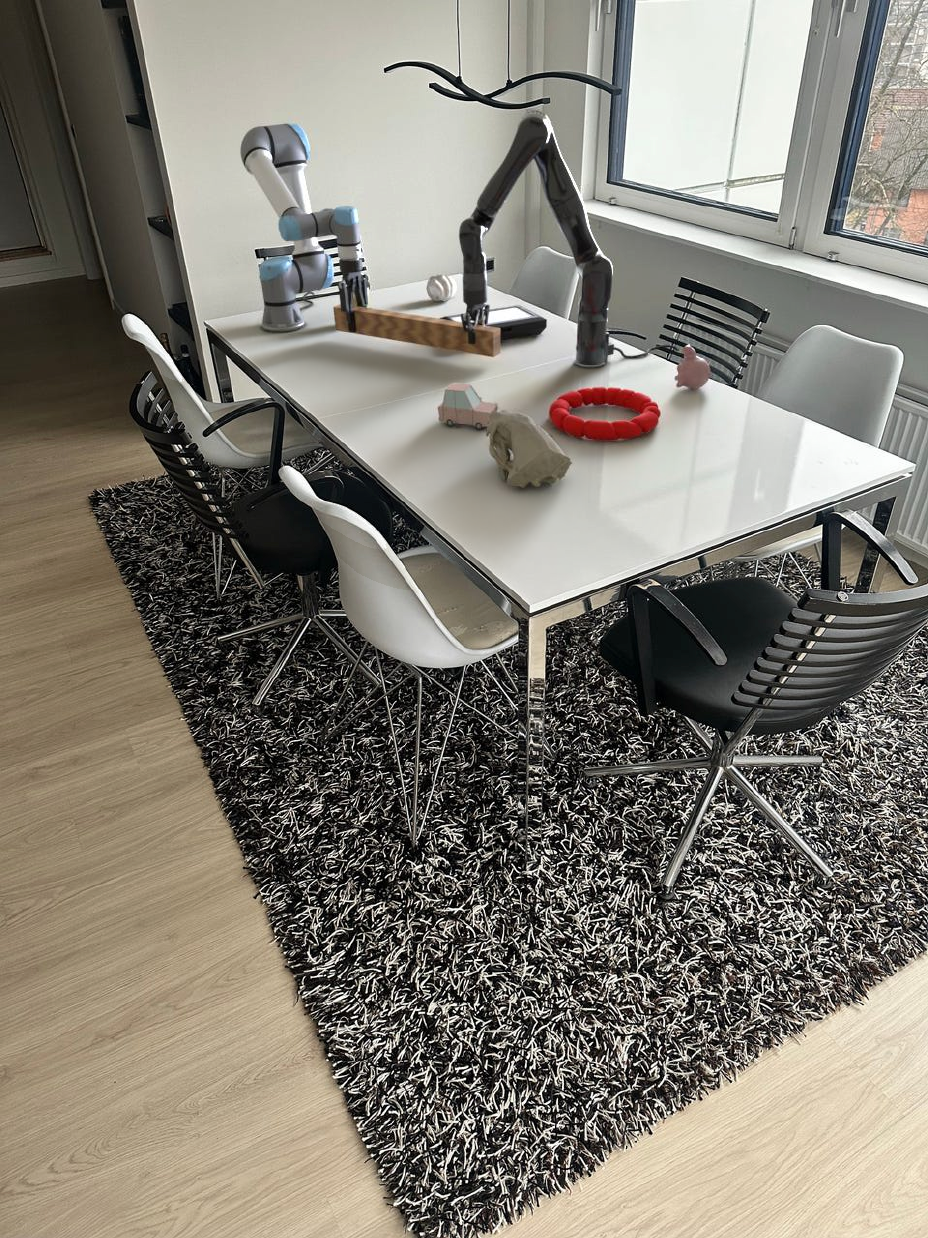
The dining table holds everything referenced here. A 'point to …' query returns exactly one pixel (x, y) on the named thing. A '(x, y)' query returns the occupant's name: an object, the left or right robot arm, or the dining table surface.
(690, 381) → the figurine
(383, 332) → the bar
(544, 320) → the electronic device
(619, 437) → the decorative ring
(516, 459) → the animal skull
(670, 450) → the dining table surface
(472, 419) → the toy car
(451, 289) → the seashell
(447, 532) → the dining table surface
